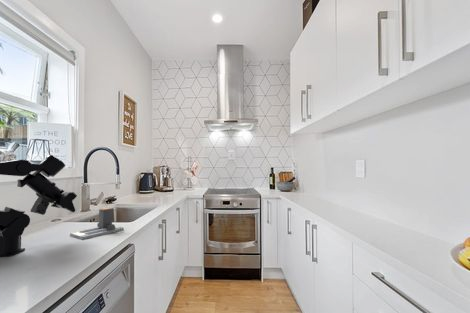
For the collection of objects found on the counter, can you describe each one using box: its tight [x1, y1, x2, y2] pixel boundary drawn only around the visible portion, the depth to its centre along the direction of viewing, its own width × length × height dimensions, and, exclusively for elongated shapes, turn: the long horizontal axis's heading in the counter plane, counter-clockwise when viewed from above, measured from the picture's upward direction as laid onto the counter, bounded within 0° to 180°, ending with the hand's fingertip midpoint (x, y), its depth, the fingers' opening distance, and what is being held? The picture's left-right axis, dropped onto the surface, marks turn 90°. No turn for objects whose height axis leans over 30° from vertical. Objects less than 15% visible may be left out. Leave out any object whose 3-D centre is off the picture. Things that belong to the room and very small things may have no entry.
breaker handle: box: [98, 207, 113, 229], centre depth 113 cm, size 4×4×9 cm
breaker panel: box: [69, 222, 125, 241], centre depth 110 cm, size 18×10×3 cm, turn 146°
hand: (74, 211), depth 102 cm, fingers closed
